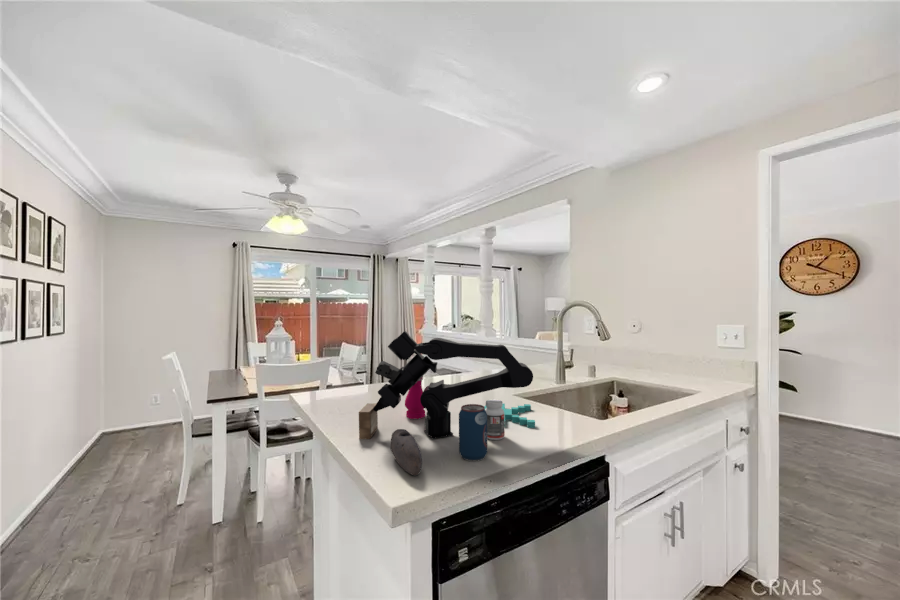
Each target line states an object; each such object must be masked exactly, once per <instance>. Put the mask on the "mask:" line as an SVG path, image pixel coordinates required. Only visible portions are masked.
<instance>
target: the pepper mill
mask: <svg viewBox="0 0 900 600" xmlns="http://www.w3.org/2000/svg"><path fill="white" fill-rule="evenodd" d="M423 380H424V375H423V376H422V377H421V378H420V379H419V380H418V381H417V383H416V384H415V385H414V386H412V387H411V388H410V389H409V390H408V391H407V393H406V396H405V400H404V407H405V408H406V409H407V410H406V412H405V413H406V418H407V419H410V420H418V419H419V418H420V419H423V417H424V418H426V409H425V408H424V407H423V406H422V404H421V401H420V398H421V395H422V393H423V391H424V390H423V388H422V387H423V386H422V384H423V383H422V381H423ZM420 419H419V420H420Z"/></svg>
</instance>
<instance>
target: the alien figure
mask: <svg viewBox="0 0 900 600" xmlns="http://www.w3.org/2000/svg"><path fill="white" fill-rule="evenodd" d="M502 404H503V406H502V409H503V410H504V428H505V427H506V421H511V423H514V424H515V423H516V424H519V426H527V428H529V429H536V420H535V419H528V418H527V417H526V416H524V417H521V416H520V415H519V414H523V413H524V414H525V413H526V412H531V411H532V404H530V403H528V404H526V403H523V405H517V406H515V407H514V406H511V407H510V408H506V403H503V402H502ZM483 406H484V407H485V409H486V408H487V407H486V404H485V405H483Z"/></svg>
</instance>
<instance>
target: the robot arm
mask: <svg viewBox="0 0 900 600" xmlns="http://www.w3.org/2000/svg"><path fill="white" fill-rule="evenodd" d="M387 348H388V349H389V350H390V351H391V352H392V353H393V354H394V356H396V357H397V358H398V359H399V361H408V360H409V359H410V358H411V357H412V358H411V359H410V360H409V361H408V362H407V363H406V364H405V365H404V366H401V368H399V367H397V366H395V365H393V364H391V363H388V362H386V361H383V360H382V361H379V364H378V366H377V367H376V369H375V372H374V373H375V375H378V376H381V377H383V378H385V379H388V380H387V382H388V383H385V384H384V385H383V386H381V388H380V389H379V390H378V391H377V393H378V395H379V396H380V397H379V399H378V401H377V402H376V403H377V404H376V405H375V407H374V408H373V410H374V411H375V412H376V411H377V412H378V411H379V412H380V411H381V410H384V409H386V408H389V407H390V408H392V409H395V408H396V407H397V406H398V405H399V404H400V403H401V401H402V397H404V396H405V395H407V393H408V392H409V389H410V388H411V387H412V386H414V385H415V384H416V383H417V381H418V380H419V379H420V378H421V377H422V376H423V377H424V376H425V374H427V372H429V370H431V372H433V374H435V373H437V371H438V362H437V361H440V360H447V359H452V358H458V357H459V358H472V359H473V358H475V359H489V360H490V359H492V360H498V361H500V363H502V364H503V366H504V369H502V370H499V372H496V373H492V374H487V375H484V376H480V377H476V378H472V379H468V380H464V381H460V382H456V383H453V384H452V383H451V384H448V383H447V384H446V383H445V381H444V379H441V380H439V381H436V382H432V381H431V382H430V383H429V384H428V385H427V386H425V388H424V390H423V393H422V395H421V398H420V401H421V404H422V406H423V407H424V409H425V411H426V417H424V433H425V434H426V435H427V436H428V437H430V438H431V439H432V440H433V439H439V438H444V437H450V436H451V437H452V436H454V433H453V432H452V430H451V429H452V428H451V427H452V424H451V423H452V421H451V416H452V414H451V411H449V406H450V402H452V401H453V400H456V399H461V398H465V397H468V396H469V397H470V396H472V395H476V394H479V393H480V394H481V393H485V392H489V391H492V390H496V389H500V388H501V389H502V388H507V389H508V388H511V389H515V388H526V387H529V386H530V385H531V384H532V382H533V381H534V373H533V371H532V370H531V369H530V367H528V365H526V364H525V363H523V362H519V361H518V360H517V359H516V357H515V356H514V355H513V354H512V353H511V352H510V351H509V349H508V348H507V347H506V345H505V344H485V343H484V344H482V343H481V344H480V343H469V342H467V343H466V342H465V343H464V342H457V341H452V340H450V339H445V338H441V337H434V338H431V339H430V340H429V341H428V342H420V343H417V342H416V341H415V340H414V339H413V338H412V336H410V334H409V333H408V332H407V331H403V332H402V333H400V334H399V335H398V337H396V338H394V339H393V340H392V341H391V342H390V343H389V345H388V346H387ZM413 355H414V356H413ZM424 355H425V356H424ZM432 360H434V361H432Z"/></svg>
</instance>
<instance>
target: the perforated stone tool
mask: <svg viewBox="0 0 900 600" xmlns="http://www.w3.org/2000/svg"><path fill="white" fill-rule="evenodd" d="M390 450H391V454H392V456H393V458H394V459H395V461H396V463H397V464H398V465H399V466H400V467H401V468H402V469H403V470H404V471H405V472H406V473H408V474H409V475H412V476H418V475H419V474H420V473H421V471H422V467H423V456H422V455H423V454H422V451H421V449H420V446H419V444H418V442H417V441H416V439H415V437H414V436H413V435H412V434H411V432H409V431H408V430H407V429H406V428H405V429H404V428H398V429H396V430H394V431H393V432H392V434H391V438H390Z"/></svg>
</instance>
